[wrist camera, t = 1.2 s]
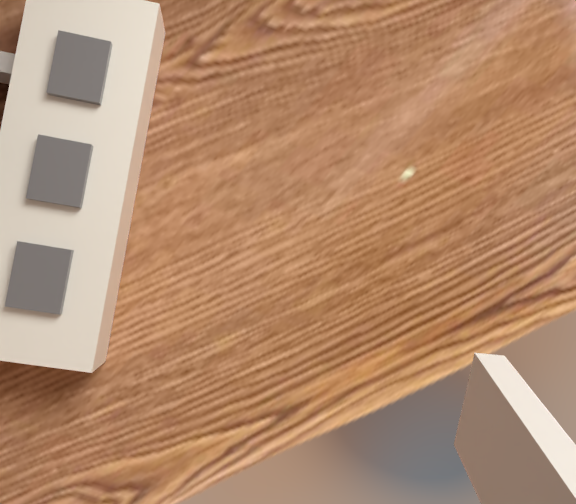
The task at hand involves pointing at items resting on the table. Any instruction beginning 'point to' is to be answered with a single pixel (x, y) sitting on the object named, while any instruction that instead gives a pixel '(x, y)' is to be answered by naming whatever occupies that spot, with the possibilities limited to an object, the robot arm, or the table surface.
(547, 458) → the robot arm
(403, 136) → the table surface
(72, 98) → the power strip dock
